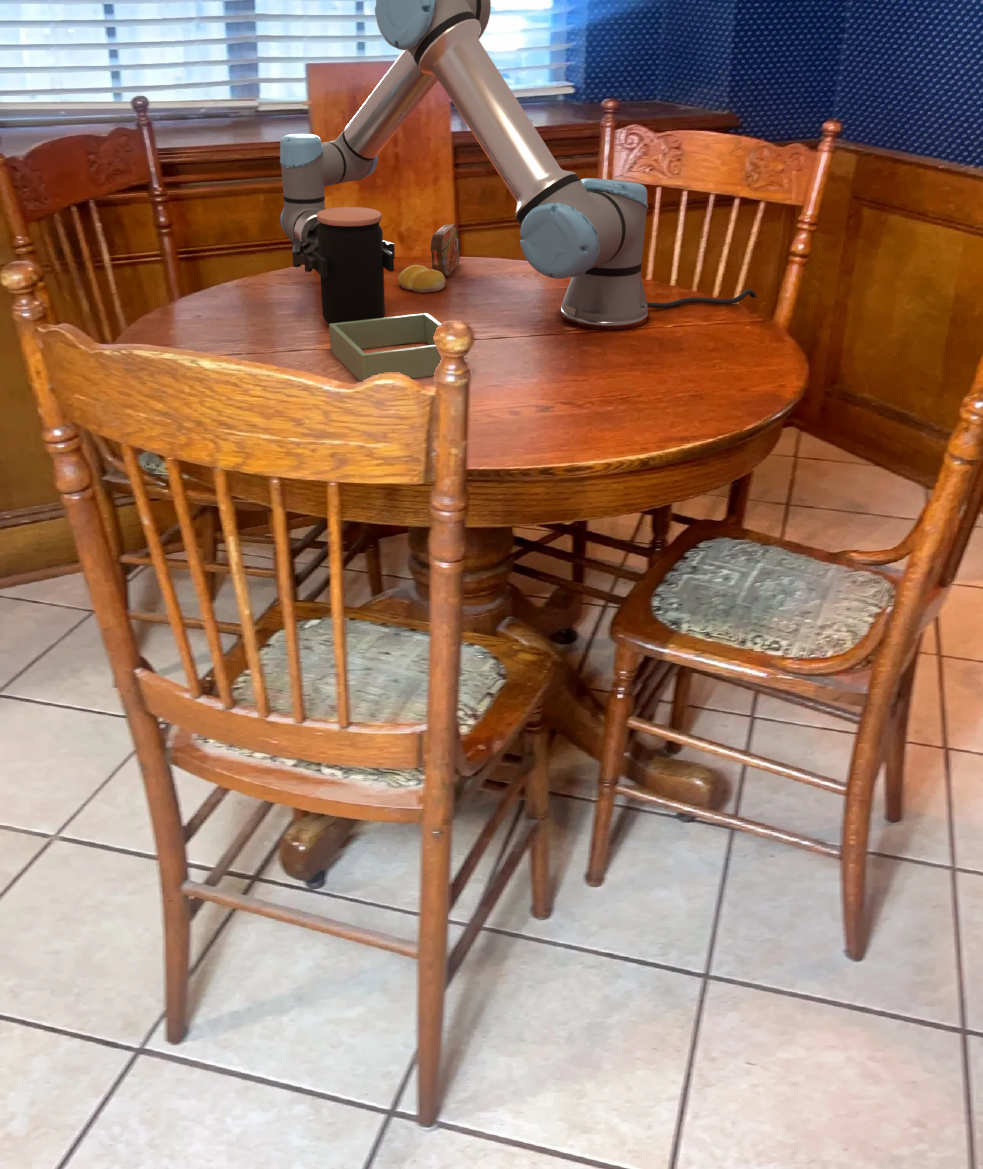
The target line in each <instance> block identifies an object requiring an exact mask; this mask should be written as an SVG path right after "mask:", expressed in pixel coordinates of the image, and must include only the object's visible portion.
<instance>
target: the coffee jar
mask: <svg viewBox="0 0 983 1169" xmlns="http://www.w3.org/2000/svg"><path fill="white" fill-rule="evenodd" d="M316 215H317V220H318V221H319V223H320V226H319V227H318V230H317V233H318V248H319V254H320V255H321V256H322V257H324V258H325V259H326V260H327V265H328V277H325V278H324V277H322V276H321V275H320V274H319V277H320V278H319V279H320V293H321V294H320V295H321V296H320V297H321V310H322V317H323V319H324V321H325V322H326V324H327V325H328V326H329V324H332V323H341V322H350V321H359V320H368V319H377V318H385V316H386V299H385V271H384V269H385V268H384V265H383V241H384V238H383V237H384V236H383V234H384V233H383V229H382V227H381V225H380V222H381V220H382V218H383V214H382V213H381V211H379V210H377V209H373V208H369V207H361V206H360V207H359V206H339V207H338V206H337V207H330V208H325V210H322V211H319V212H318V213H317V214H316Z"/></svg>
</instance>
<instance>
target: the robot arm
mask: <svg viewBox="0 0 983 1169" xmlns="http://www.w3.org/2000/svg"><path fill="white" fill-rule="evenodd" d="M491 8H492V6H491V0H375V6H374V18H375V23H376V26H377V28H378V31H379V33H380V35H381V37H382V38H383V40H384V41H385V42H386V43H387V44H388V45H390V46H391V47H393V48H395V49H397V50H400V51H402V52H401V54H399V56H398V57H397V59H395V61H394V63H393V64H392V65H391V67H390V68H389V69H388V71H387V72H386V74H384V76H383V77H382V79H381V80H380V81H379V82H378V84H377V85H376V86H375V88H374V89H373V90H372V92H370V95H368V97H367V98H366V100H365V101H364V102H363V104H362V106H360V108H359V110H358V111H357V112H356V113H355V115H354V116H353V117H352V119H351V120H350V121H349V123H347V125H346V126H345V128H344V129H343V130H342V131H341V133H340V134H339V136H338V137H337V138H335V139H334V140H332V141H326V142H322V140H321V137H320V136H318V135H317V134H311V133H290V134H286V135H283V137H282V138H281V139H280V142H279V144H280V145H279V146H280V147H279V157H280V158H279V164H280V169H281V180H282V181H281V182H282V190H283V191H282V193H283V208H282V211H281V213H280V219H279V222H280V226H281V228H282V231H283V232H284V234H285V235H286V237H287V238H288V239H289V240H290V241H291V249H292V250H291V255H292V256H291V257H292V267H293V268H296V269H297V268H301V265H304V271H305V272H306V273H310V272H313V270H314V271H315V272H316V273H318V274H319V276H320V275H321V276H322V277H324V278H325V277H328V265H327V260H326V259H325V258H324V257H322V256H321V255H320V254H319V248H318V233H317V230H318V227H319V226H320V223H319V221H318V220H317V215H316V214H317V213H318V212H319V211H322V210H325V209H326V201H325V200H326V197H325V187H330V186H335V185H339V184H343V183H344V184H345V183H348V182H357V181H361V180H363V179H365V178H367V177H370V176H371V175H373V174H374V173H375V171H376V170H377V167H378V162H379V154H380V153H381V151H383V149H384V147H385V146H386V145H387V144H388V143H389V142H390V140H391V139H392V138H393V137H394V135H395V134H396V133H397V131H398V130H399V129H400V128H401V127H402V126H403V124H404V123H405V122H406V120H408V118H409V117H410V116H411V114H412V113H413V112H414V111H415V110H416V108H417V107H418V106H419V105H420V103H421V102H422V101H423V100H424V99H425V97H427V95H428V94H429V92H430V91H431V90H432V88H434V86H435V85H436V84H437V83H438V82H439V84H440V85H441V87H442V89H443V90H444V92H445V93H446V95H447V96H448V98H449V99H450V101H451V102H452V104H453V106H454V107H455V109H456V110H457V112H458V113H459V115H460V117H461V118H462V119H463V121H464V122H465V124H466V126H467V128H469V130H470V132H471V134H472V135H473V136H474V138H475V140H476V141H477V143H478V144H479V146H480V147H481V149H482V150H483V152H484V154H485V155H486V157H487V158H488V159H489V161H490V162H491V164H492V166H493V167H494V169H495V170H496V172H497V174H498V175H499V177H500V178H501V180H502V182H503V183H504V184H505V186H506V188H507V189H508V191H509V193H510V194H511V196H512V197H513V198H514V201H515V202H516V208H515V214H514V217H515V220H516V222H518V224H519V225H520V230H519V236H521V237H520V241H519V243H520V248H521V251H522V254H523V256H524V257H525V259H526V261H527V262H528V264H529V265H530V266H531V267H532V268H533V269H534V270H535V271H537V272H538V273H539V274H541V275H543V276H545V277H548V278H551V279H557V280H561V279H562V280H564V279H568V278H570V280H569V284H568V286H567V289H566V291H565V294H564V297H563V300H562V301H561V308H560V316H561V318H562V319H563V320H564V321H566V322H567V323H569V324H571V325H575V326H579V327H582V328H587V329H595V330H626V329H632V328H635V327H639V326H641V325H643V324H645V323H646V322H647V321H648V316H649V315H648V314H649V308H650V309H669V308H674V307H677V306H680V305H684V304H692V303H695V304H696V303H699V304H700V303H701V304H711V305H712V304H713V305H733V304H737V303H739V302H740V301H742V300H744V299H745V298H746V297H747V296H748V295H749V296H750V298H754V299H755V298H756V299H757V298H758V296H757V294H756V292H755V291H754V290H752V289H750V288H748V289H745V290H744V291H742V292H741V293H740V294H738V295H737V296H735V297H732V298H715V297H714V298H713V297H701V296H699V297H698V296H696V297H695V296H693V297H684V298H680V299H679V298H678V299H677V300H673V301H669V302H652V301H651V302H650V301H647V298H646V293H645V288H644V284H643V280H642V263H643V254H644V243H645V234H646V223H647V212H648V209H649V204H648V190H647V188H646V186H645V185H644V184H641V183H637V182H633V181H625V180H616V179H606V178H592V177H591V178H590V177H586V178H582V179H580V177H579V176H578V175H577V172H575V171H570V170H564V169H563V168H561V166H560V165H559V163H558V161H557V160H556V159H555V157H554V156H553V154H552V153H551V152H552V151H550V149H549V147H548V146H547V145H546V142H545V141H544V140H543V138H542V136H541V135H540V134H539V132H538V130H537V128H536V127H535V126H534V124H533V123H532V121H531V119H530V118H529V116H528V115H527V113H526V112H525V110H524V108H523V106H522V105H521V103H520V101H518V99H517V97H516V96H515V95H514V93H513V91H512V90H511V88H510V86H509V85H508V83H507V82H506V81H505V78H504V77H503V75H502V74H501V72H500V71H499V69H498V68H497V66H496V65H495V63H494V61H493V60H492V58H491V57H490V56H489V54H488V52H487V50H486V49H485V47H484V46H483V44H482V43H481V41H480V39H481V38H482V36H483V35H484V32H485V30H486V28H487V26H488V25H489V24H488V23H489V20H490V17H491V12H492V11H491V10H492V9H491ZM395 255H396V252H395V243H393V242H391V241H387V240H383V265H384V269H385V270H387V271H388V272H394V271H395V259H396V256H395ZM737 483H739V481H738V482H737ZM737 483H735V484H737ZM737 485H738V484H737ZM732 487H734V484H733V483H732ZM732 490H733V489H732V488H731V491H732Z"/></svg>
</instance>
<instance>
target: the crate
mask: <svg viewBox="0 0 983 1169" xmlns="http://www.w3.org/2000/svg"><path fill="white" fill-rule="evenodd" d="M441 324H442V323H441V322H440V321H438V320H437V319H436V318H435V317H433V316H432V315H431V314H429V313H428V312H423V313H414V314H404V315H396V316H395V315H394V316H387V317H384V318H377V319H368V320H359V321H350V322H341V323H332V324H329V325H328V330H329V332H328V333H329V345H330V353H332V354H333V356H335V358H336V359H337V360H338V361H339V362H340V363H341V364H342V365H343V366H344V367H345V368H346V369H347V370H348V371H349V372H350V373H351V374H352V375H353V376H354V377H355V378H356V379H357V380H358V381H359V382H360V383H361V382H363V380H365V379H367V378H369V377H371V376H372V375H377V374H379V373H384V372H400V373H402V374H404V375H407V376H409V377H410V378H412V379H418V378H426V377H427V378H428V377H433V375H434V372H435V369H436V367H437V366H438V364H439V363H440V360H441V356H440V354H439V352H438V350H437V348H436V345H435V344H434V340H433V336H434V333H435V331H436V328H437V327H438V326H439V325H441ZM432 341H433V342H432ZM423 342H425V343H426V344H427V345H422V346H416V347H415V346H414V347H406V348H398V349H391V350H382V351H374V352H365V351H364V350H366V349H367V350H368V349H374V348H381V347H382V348H383V347H389V346H397V345H408V344H414V343H423ZM466 359H467V360H468V356H467V357H466ZM434 376H435V375H434Z"/></svg>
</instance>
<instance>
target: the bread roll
mask: <svg viewBox="0 0 983 1169" xmlns="http://www.w3.org/2000/svg"><path fill="white" fill-rule="evenodd" d="M398 283H399V285H400V287H401V288H402V289H405V290H407V291H412V292H414V293H419V294H424V293H436V292H439V291H441V290H443V289H444V288H445V286H446V276H444V275H443V274H442V273H441V272H440V271H437V270H433V269H432V268H427V267H426V266H424V265H420V264H412V265H409V266H407V267H405V268H404V269H403V270H402V271H401V272H400V274H399V275H398Z"/></svg>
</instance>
